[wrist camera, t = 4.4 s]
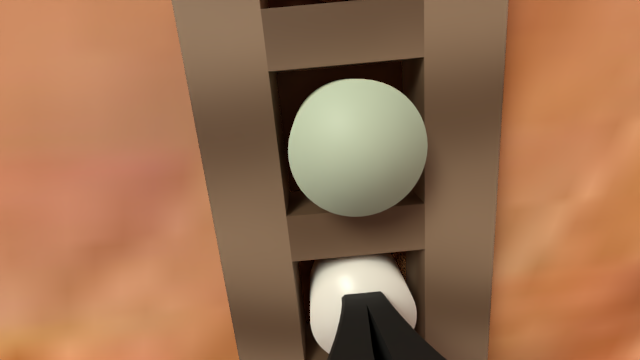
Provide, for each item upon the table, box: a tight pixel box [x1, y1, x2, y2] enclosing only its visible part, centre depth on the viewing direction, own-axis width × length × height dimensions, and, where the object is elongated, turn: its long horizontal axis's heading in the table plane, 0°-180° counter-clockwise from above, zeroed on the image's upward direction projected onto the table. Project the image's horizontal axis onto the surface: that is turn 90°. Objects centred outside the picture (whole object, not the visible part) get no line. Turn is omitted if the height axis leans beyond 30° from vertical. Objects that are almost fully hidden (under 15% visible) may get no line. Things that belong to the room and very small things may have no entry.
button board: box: [172, 0, 508, 360], centre depth 12 cm, size 20×9×2 cm, turn 5°
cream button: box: [310, 252, 417, 353], centre depth 13 cm, size 4×4×2 cm
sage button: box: [288, 79, 428, 217], centre depth 10 cm, size 4×4×2 cm
